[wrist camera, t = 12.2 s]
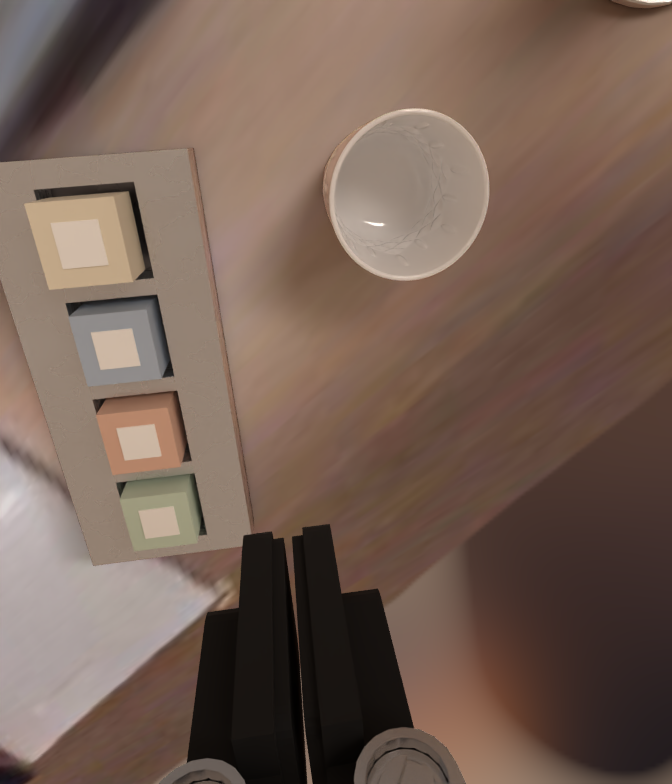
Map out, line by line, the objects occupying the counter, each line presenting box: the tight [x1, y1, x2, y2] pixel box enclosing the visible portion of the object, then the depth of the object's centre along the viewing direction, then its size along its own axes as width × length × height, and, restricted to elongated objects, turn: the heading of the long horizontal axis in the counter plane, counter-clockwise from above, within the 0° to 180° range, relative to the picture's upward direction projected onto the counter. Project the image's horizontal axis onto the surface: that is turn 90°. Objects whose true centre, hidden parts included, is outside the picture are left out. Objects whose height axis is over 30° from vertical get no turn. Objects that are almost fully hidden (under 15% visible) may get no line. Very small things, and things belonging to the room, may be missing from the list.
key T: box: [68, 295, 170, 387], centre depth 35 cm, size 4×4×4 cm
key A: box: [96, 391, 187, 475], centre depth 38 cm, size 4×4×4 cm
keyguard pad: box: [0, 148, 254, 566], centre depth 38 cm, size 12×28×3 cm, turn 4°
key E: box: [120, 473, 202, 551], centre depth 40 cm, size 4×4×4 cm
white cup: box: [322, 108, 490, 281], centre depth 31 cm, size 8×8×10 cm
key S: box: [24, 191, 145, 290], centre depth 31 cm, size 4×4×4 cm
